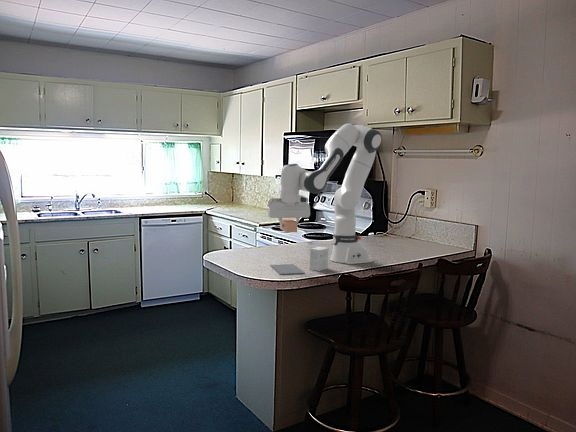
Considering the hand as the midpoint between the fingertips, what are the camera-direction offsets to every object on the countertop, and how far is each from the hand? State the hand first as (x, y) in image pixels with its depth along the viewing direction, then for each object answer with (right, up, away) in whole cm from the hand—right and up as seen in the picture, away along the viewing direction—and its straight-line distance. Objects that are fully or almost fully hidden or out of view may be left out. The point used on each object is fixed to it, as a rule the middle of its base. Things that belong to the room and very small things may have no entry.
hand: (288, 227), depth 233 cm
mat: (-1, -21, +3) cm, 21 cm away
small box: (+15, -21, +7) cm, 27 cm away
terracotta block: (-2, +2, +6) cm, 7 cm away
